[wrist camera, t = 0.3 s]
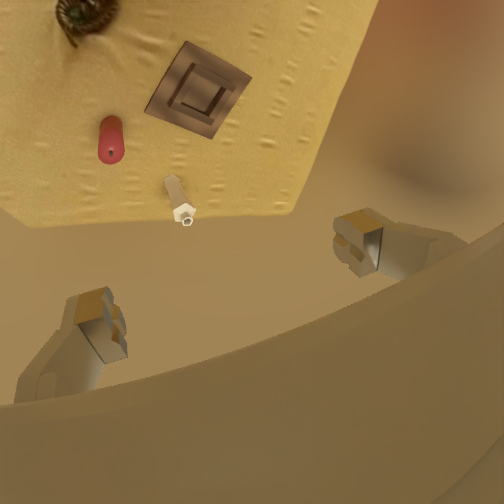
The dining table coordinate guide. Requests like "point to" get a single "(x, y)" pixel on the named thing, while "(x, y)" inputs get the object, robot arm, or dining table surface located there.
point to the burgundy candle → (111, 140)
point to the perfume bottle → (179, 201)
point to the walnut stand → (197, 91)
